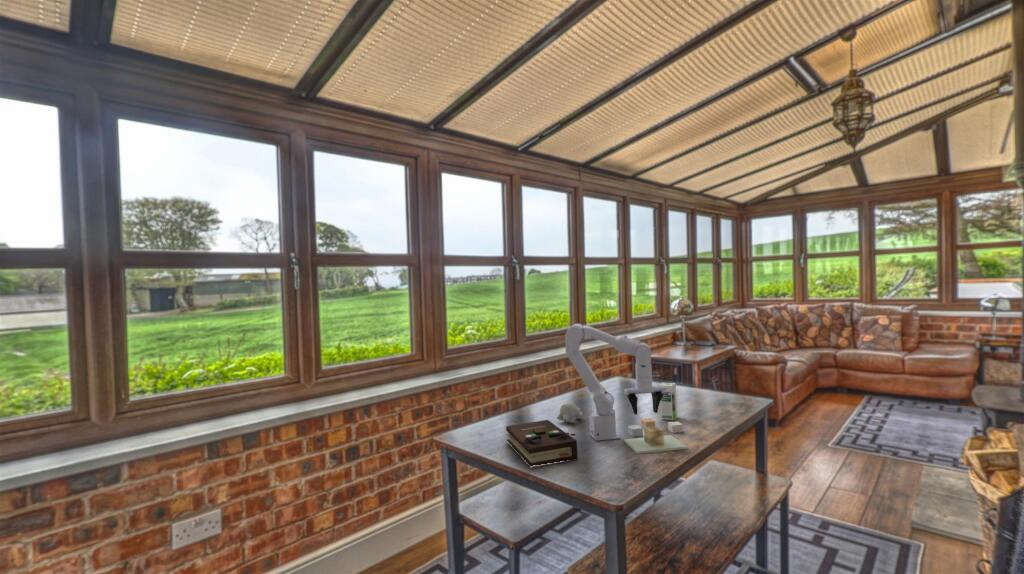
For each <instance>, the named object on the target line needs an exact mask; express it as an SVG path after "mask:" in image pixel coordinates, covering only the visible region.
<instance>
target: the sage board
mask: <svg viewBox="0 0 1024 574" xmlns="http://www.w3.org/2000/svg"><path fill="white" fill-rule="evenodd" d="M622 441H623V443H624V444H625V445H626V446H628V447H629V448H630V449H631V450H632V451H633V452H634V453H635V454H637V455H638V454H649V453H650V454H651V453H658V452H659V453H660V452H668V451H670V452H671V451H678V450H679V451H680V450H687V449H688V446H687V445H685V444H684V443H683V442H681V441H680V440H678V439H677V438H676V437H674V436H672V434H668V435H667V434H665V435H664V445H656V446H650V445H649V444H647V443H646V442H645V441H644V437H637V438H636V437H633V438H627V439H626V438H624V439H623V440H622Z"/></svg>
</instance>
